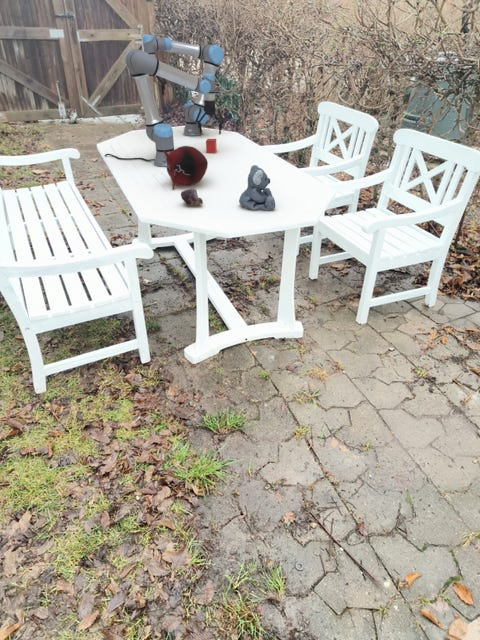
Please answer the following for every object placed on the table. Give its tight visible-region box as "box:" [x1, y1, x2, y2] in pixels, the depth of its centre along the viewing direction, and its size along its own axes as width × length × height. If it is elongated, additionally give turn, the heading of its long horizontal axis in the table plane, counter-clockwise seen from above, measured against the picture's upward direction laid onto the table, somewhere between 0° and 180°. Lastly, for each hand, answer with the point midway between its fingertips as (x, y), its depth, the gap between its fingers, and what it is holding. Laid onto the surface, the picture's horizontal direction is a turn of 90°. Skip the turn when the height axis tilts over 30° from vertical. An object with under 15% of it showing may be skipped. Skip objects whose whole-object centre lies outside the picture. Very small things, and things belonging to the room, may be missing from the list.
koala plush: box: [238, 164, 276, 211], centre depth 224 cm, size 17×18×20 cm
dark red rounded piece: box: [163, 145, 209, 190], centre depth 255 cm, size 21×24×25 cm
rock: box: [180, 188, 204, 207], centre depth 229 cm, size 12×9×10 cm
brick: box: [205, 138, 218, 154], centre depth 316 cm, size 7×6×8 cm
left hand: (210, 133), depth 312 cm, fingers open, 13 cm apart
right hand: (154, 95), depth 324 cm, fingers open, 13 cm apart
